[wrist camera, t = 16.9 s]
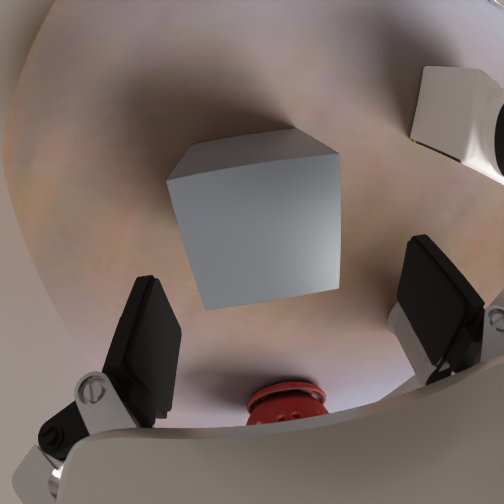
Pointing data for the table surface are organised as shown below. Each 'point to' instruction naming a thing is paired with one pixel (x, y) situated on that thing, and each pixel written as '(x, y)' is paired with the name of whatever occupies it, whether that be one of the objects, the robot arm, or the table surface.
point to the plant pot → (286, 403)
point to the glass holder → (414, 348)
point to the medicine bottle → (462, 118)
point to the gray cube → (259, 216)
